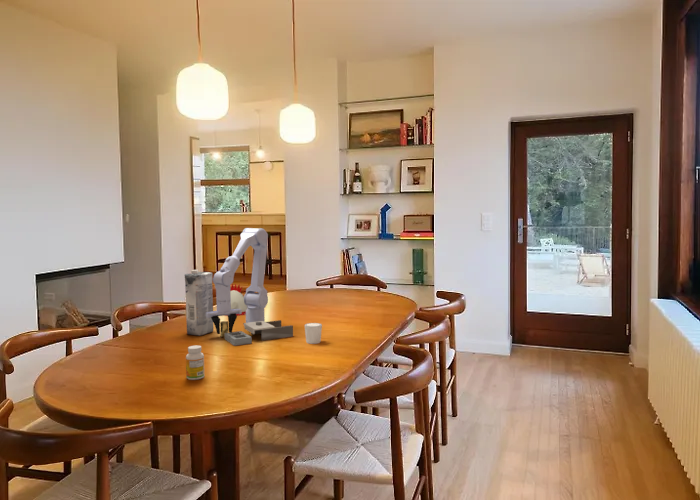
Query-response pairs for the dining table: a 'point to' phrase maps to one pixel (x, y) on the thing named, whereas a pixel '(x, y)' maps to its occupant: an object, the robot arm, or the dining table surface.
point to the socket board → (238, 338)
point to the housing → (275, 331)
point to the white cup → (313, 333)
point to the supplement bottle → (194, 363)
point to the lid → (257, 326)
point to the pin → (224, 328)
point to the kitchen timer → (237, 300)
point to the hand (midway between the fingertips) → (224, 332)
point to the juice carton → (198, 302)
